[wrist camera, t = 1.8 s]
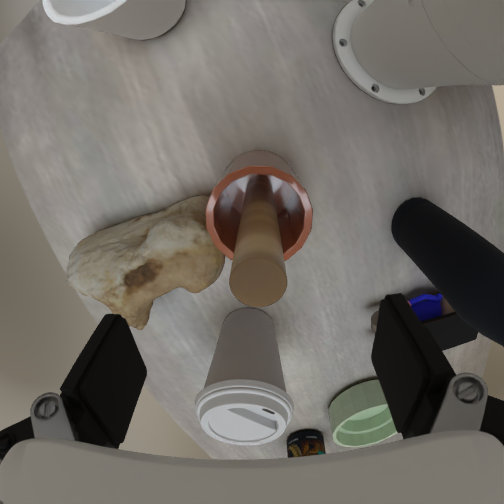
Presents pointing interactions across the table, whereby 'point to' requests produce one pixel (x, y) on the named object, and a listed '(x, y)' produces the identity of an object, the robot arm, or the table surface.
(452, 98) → the table surface
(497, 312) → the black water bottle
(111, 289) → the stone
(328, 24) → the table surface
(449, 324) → the figurine character
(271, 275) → the stirring stick
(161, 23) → the cup
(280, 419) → the coffee cup
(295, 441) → the beverage can
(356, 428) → the bowl
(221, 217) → the holder
